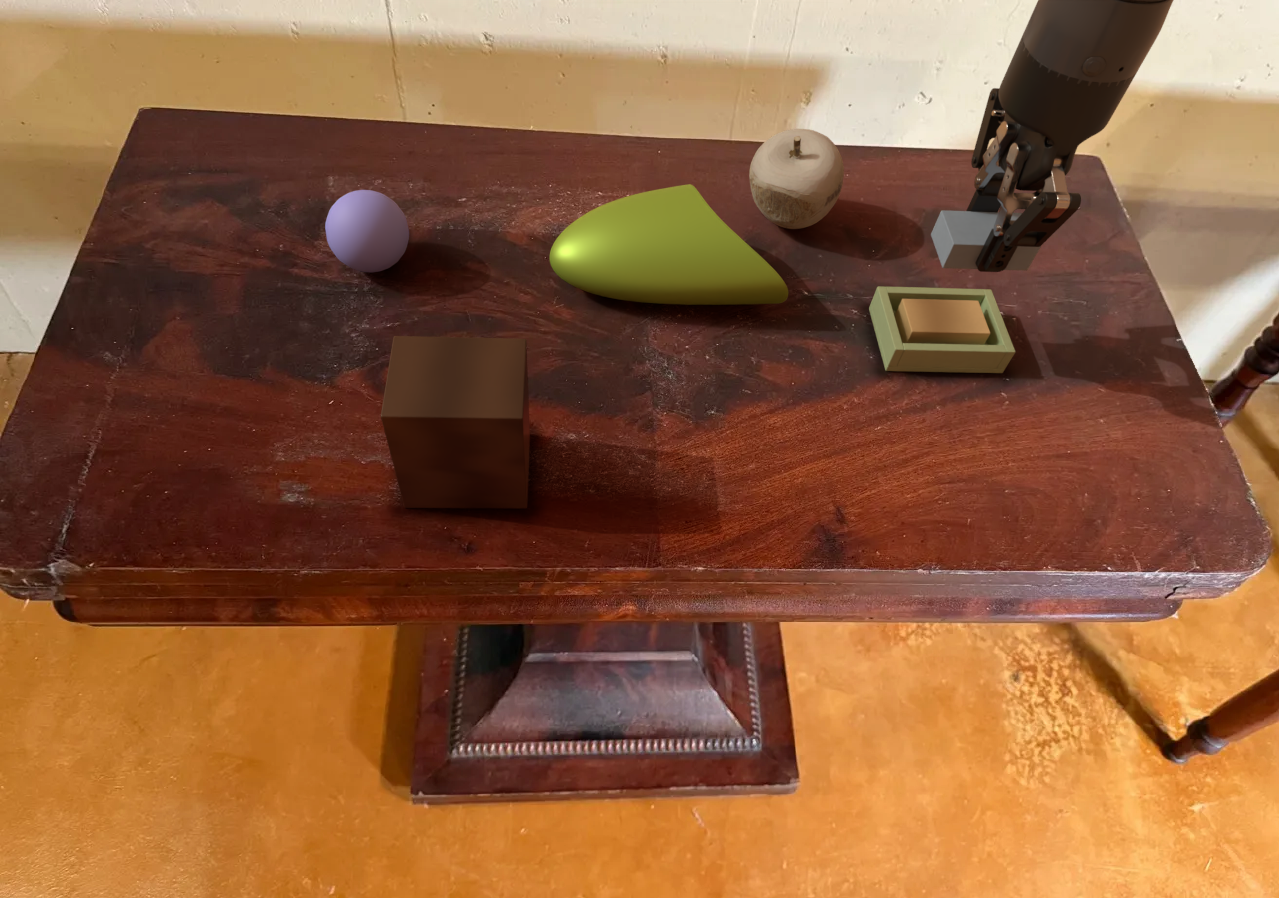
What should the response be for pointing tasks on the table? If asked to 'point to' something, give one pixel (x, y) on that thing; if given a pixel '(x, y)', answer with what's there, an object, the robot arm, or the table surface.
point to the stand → (458, 421)
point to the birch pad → (941, 322)
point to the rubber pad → (972, 240)
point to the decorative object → (796, 177)
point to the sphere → (367, 231)
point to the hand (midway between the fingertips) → (980, 248)
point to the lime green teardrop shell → (663, 253)
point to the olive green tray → (939, 355)
